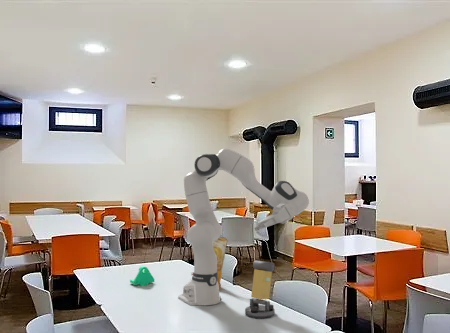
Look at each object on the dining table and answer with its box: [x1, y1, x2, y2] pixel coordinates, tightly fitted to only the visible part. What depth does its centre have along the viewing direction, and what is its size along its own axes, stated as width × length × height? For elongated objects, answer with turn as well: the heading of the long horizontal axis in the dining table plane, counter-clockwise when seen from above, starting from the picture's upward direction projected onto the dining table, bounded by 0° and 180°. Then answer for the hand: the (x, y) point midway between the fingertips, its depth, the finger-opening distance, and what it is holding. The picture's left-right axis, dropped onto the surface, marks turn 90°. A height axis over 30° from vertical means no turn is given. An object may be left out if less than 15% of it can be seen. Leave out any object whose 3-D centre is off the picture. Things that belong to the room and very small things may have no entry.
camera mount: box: [129, 265, 155, 286], centre depth 244 cm, size 12×8×10 cm, turn 123°
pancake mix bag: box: [213, 236, 228, 290], centre depth 238 cm, size 7×19×28 cm, turn 34°
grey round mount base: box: [244, 297, 276, 320], centre depth 189 cm, size 13×13×6 cm
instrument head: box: [250, 259, 276, 306], centre depth 190 cm, size 9×7×18 cm
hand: (259, 227), depth 194 cm, fingers open, 8 cm apart
